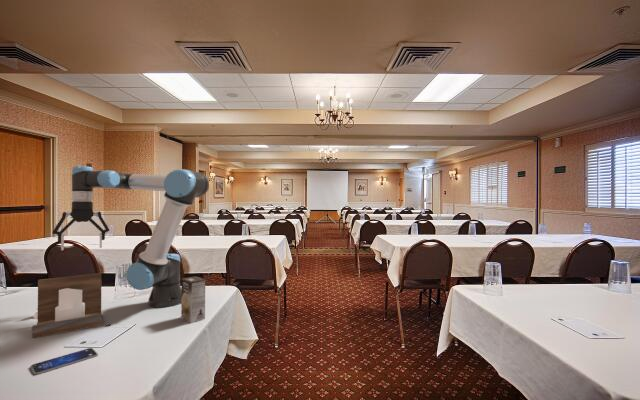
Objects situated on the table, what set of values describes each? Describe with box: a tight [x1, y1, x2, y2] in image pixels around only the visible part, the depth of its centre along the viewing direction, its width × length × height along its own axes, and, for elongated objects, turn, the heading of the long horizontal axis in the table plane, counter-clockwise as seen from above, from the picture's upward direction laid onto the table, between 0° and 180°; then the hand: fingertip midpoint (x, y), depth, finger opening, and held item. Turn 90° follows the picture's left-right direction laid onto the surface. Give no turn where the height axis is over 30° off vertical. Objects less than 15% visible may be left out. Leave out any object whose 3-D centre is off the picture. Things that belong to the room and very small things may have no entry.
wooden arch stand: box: [31, 272, 103, 339], centre depth 122 cm, size 14×20×18 cm
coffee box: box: [180, 275, 206, 324], centre depth 129 cm, size 9×6×16 cm
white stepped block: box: [55, 288, 85, 322], centre depth 122 cm, size 9×9×12 cm
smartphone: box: [29, 347, 99, 376], centre depth 94 cm, size 7×1×15 cm
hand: (82, 248), depth 142 cm, fingers open, 13 cm apart
